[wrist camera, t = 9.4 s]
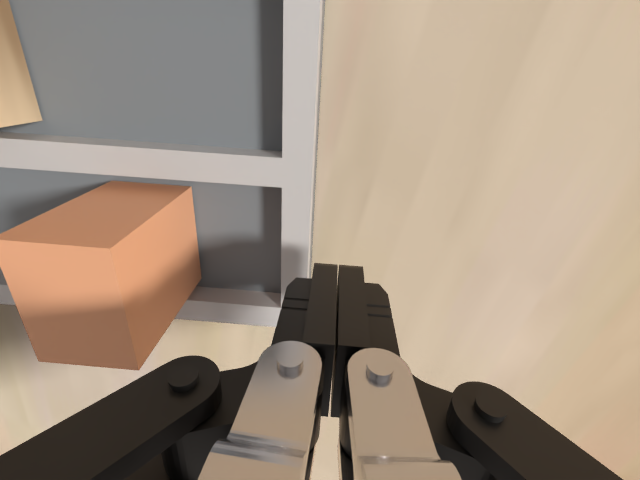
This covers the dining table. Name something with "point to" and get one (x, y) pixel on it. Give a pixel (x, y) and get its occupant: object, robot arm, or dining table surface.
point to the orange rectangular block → (104, 272)
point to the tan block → (14, 75)
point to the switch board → (180, 129)
